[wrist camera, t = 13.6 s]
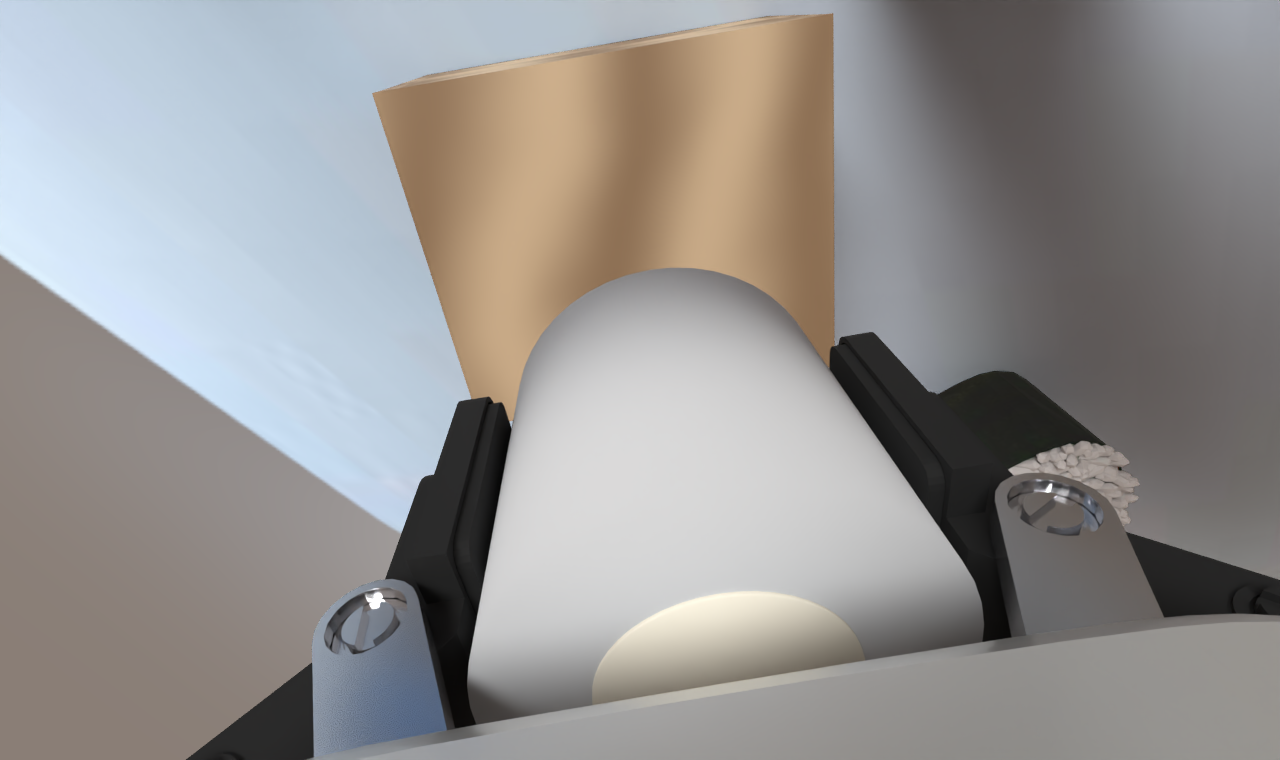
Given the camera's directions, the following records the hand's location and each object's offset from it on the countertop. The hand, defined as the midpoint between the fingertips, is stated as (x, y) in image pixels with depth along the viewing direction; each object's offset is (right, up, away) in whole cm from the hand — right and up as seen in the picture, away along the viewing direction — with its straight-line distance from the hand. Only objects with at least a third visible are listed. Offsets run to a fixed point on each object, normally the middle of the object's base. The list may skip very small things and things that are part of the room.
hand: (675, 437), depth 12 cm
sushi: (+19, -2, +25) cm, 31 cm away
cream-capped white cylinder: (0, 0, +1) cm, 1 cm away
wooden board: (-1, +6, +10) cm, 12 cm away
